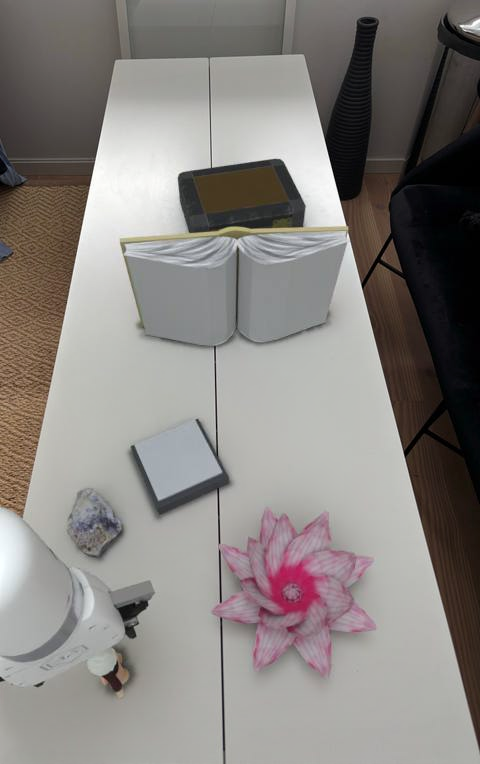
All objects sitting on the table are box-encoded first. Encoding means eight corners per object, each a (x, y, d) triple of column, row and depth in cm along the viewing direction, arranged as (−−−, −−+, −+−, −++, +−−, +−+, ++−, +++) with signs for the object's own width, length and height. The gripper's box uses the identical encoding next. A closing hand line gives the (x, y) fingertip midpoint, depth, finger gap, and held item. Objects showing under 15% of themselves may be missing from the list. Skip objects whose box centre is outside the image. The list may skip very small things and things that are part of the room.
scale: (159, 515, 85) (156, 507, 82) (132, 453, 91) (129, 444, 89) (228, 483, 88) (228, 475, 85) (198, 425, 94) (197, 416, 92)
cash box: (279, 183, 134) (281, 154, 127) (304, 236, 122) (308, 208, 116) (178, 198, 130) (175, 169, 124) (195, 255, 119) (192, 226, 113)
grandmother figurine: (89, 659, 73) (64, 641, 63) (113, 639, 75) (93, 618, 64) (120, 710, 70) (100, 700, 60) (145, 688, 71) (129, 675, 61)
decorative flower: (357, 529, 84) (378, 488, 71) (373, 688, 71) (402, 671, 59) (217, 525, 84) (214, 484, 72) (209, 683, 72) (204, 666, 59)
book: (324, 307, 110) (346, 219, 88) (330, 340, 106) (355, 257, 84) (142, 319, 108) (119, 233, 86) (142, 353, 105) (118, 272, 83)
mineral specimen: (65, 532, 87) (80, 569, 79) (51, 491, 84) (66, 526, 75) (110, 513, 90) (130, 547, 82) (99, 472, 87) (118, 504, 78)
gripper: (-81, 716, 38) (7, 729, 52) (153, 599, 42) (176, 641, 56) (-95, 613, 42) (-9, 651, 56) (121, 516, 46) (150, 574, 60)
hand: (84, 646), depth 56 cm, fingers open, 9 cm apart
